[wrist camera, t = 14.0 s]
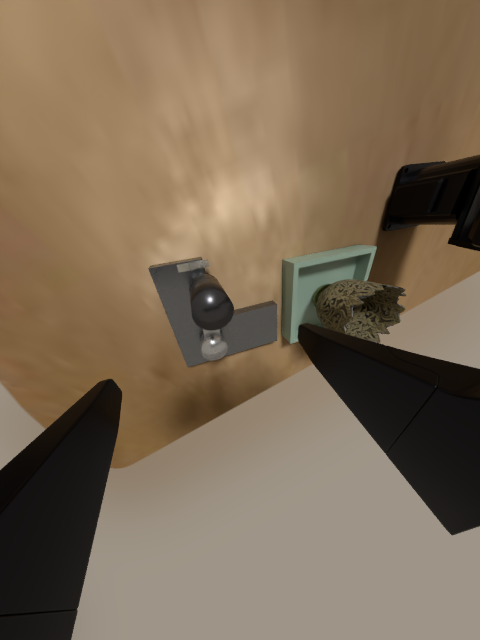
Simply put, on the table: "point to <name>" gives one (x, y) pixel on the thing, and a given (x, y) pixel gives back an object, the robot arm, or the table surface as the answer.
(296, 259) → the tray
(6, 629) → the robot arm
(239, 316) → the grey l-bracket
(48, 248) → the table surface
